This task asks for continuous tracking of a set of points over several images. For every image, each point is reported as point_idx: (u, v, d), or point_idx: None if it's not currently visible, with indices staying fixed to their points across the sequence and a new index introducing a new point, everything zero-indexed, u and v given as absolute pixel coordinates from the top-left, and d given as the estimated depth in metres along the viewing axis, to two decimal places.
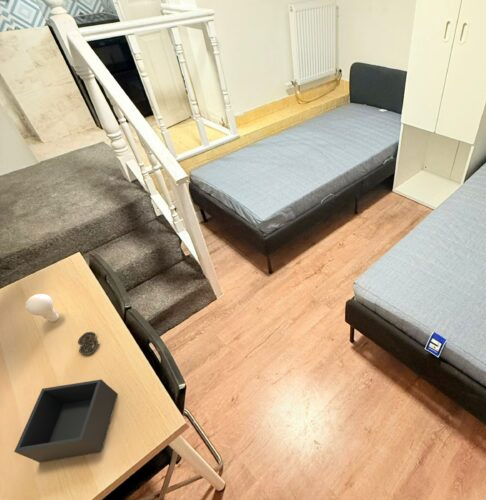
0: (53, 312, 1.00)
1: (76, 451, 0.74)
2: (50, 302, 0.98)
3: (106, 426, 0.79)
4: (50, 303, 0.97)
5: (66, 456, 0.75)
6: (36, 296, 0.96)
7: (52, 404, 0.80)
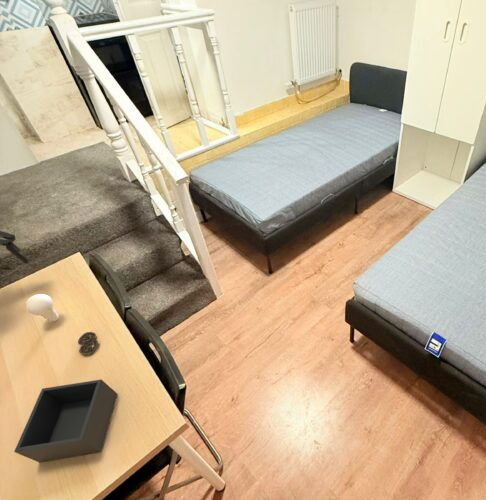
0: (53, 312, 1.00)
1: (76, 451, 0.74)
2: (50, 302, 0.98)
3: (106, 426, 0.79)
4: (50, 303, 0.97)
5: (66, 456, 0.75)
6: (36, 296, 0.96)
7: (52, 404, 0.80)
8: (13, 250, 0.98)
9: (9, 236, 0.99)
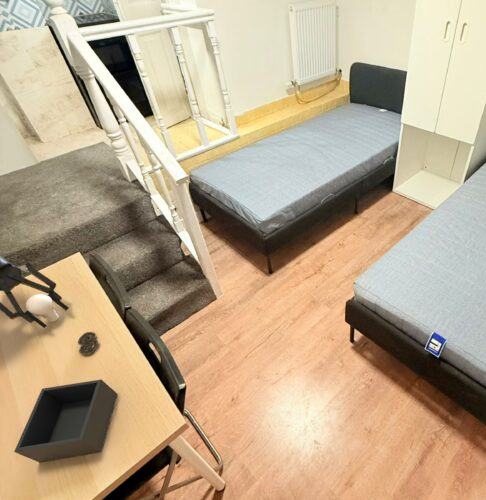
0: (53, 312, 1.00)
1: (76, 451, 0.74)
2: (50, 302, 0.98)
3: (106, 426, 0.79)
4: (50, 303, 0.97)
5: (66, 456, 0.75)
6: (36, 296, 0.96)
7: (52, 404, 0.80)
8: (55, 298, 1.00)
9: (51, 283, 1.00)
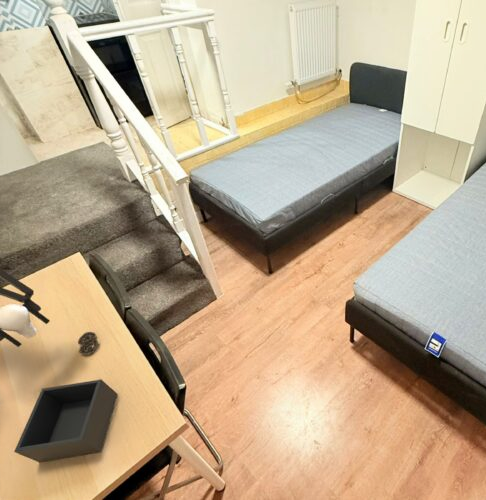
0: (30, 326, 0.80)
1: (76, 451, 0.74)
2: (26, 314, 0.77)
3: (106, 426, 0.79)
4: (25, 315, 0.77)
5: (66, 456, 0.75)
6: (7, 307, 0.76)
7: (52, 404, 0.80)
8: (32, 309, 0.79)
9: (27, 290, 0.80)
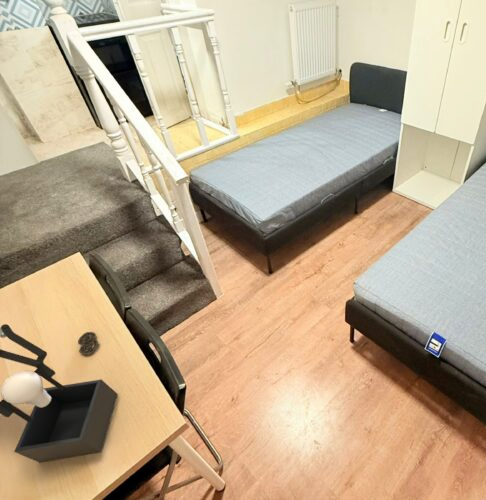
0: (43, 395, 0.68)
1: (76, 451, 0.74)
2: (38, 384, 0.66)
3: (106, 426, 0.79)
4: (37, 385, 0.66)
5: (66, 456, 0.75)
6: (16, 377, 0.64)
7: (52, 404, 0.80)
8: (45, 376, 0.68)
9: (39, 353, 0.68)
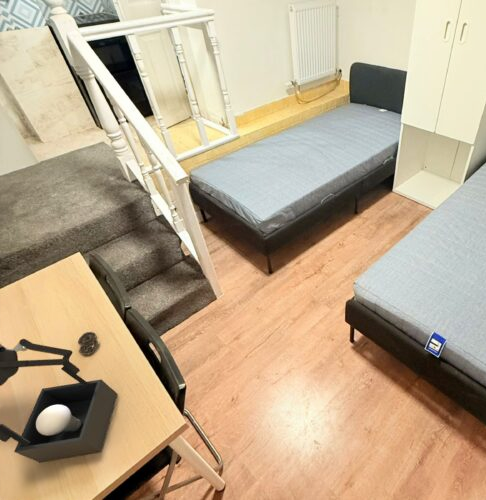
0: (73, 422, 0.77)
1: (76, 451, 0.74)
2: (67, 416, 0.74)
3: (106, 426, 0.79)
4: (67, 418, 0.73)
5: (66, 456, 0.75)
6: (47, 413, 0.72)
7: (52, 404, 0.80)
8: (71, 373, 0.74)
9: (65, 353, 0.74)
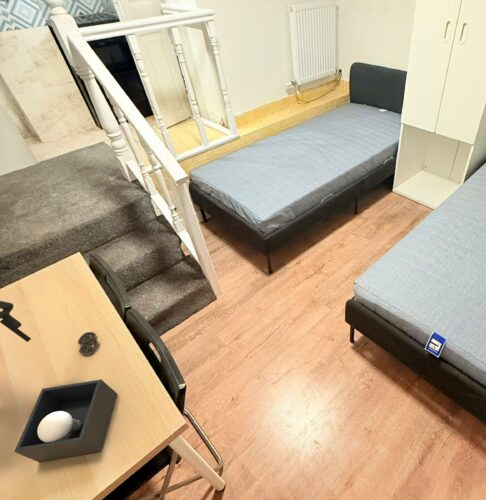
0: (74, 426, 0.76)
1: (76, 451, 0.74)
2: (70, 424, 0.73)
3: (106, 426, 0.79)
4: (69, 425, 0.73)
5: (66, 456, 0.75)
6: (49, 423, 0.70)
7: (52, 404, 0.80)
8: (11, 326, 0.70)
9: (5, 306, 0.70)
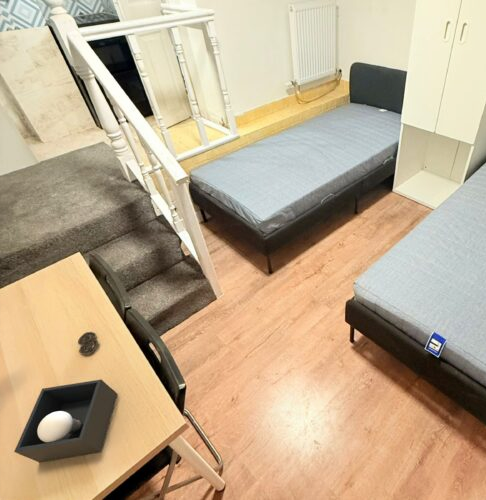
0: (74, 426, 0.76)
1: (76, 451, 0.74)
2: (70, 424, 0.73)
3: (106, 426, 0.79)
4: (69, 425, 0.73)
5: (66, 456, 0.75)
6: (49, 423, 0.70)
7: (52, 404, 0.80)
8: None
9: None
